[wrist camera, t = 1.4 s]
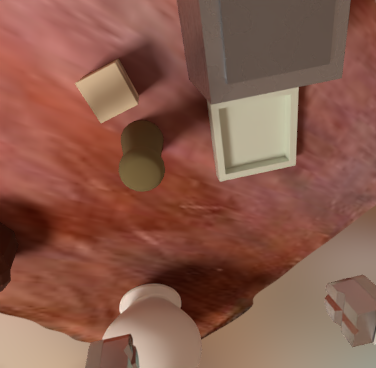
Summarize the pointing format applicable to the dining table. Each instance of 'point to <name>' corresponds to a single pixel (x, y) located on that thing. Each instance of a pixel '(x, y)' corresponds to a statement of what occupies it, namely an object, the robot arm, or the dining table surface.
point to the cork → (141, 156)
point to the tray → (254, 133)
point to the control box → (262, 44)
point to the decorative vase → (158, 328)
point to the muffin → (6, 254)
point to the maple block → (108, 91)
